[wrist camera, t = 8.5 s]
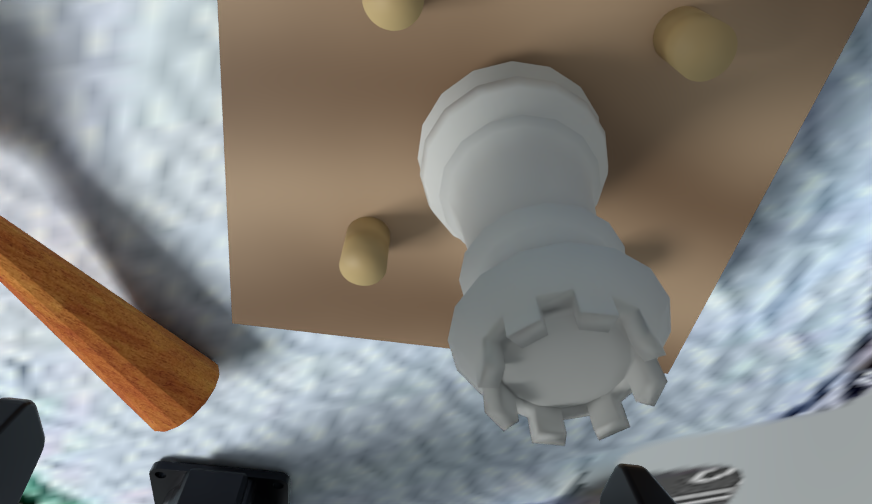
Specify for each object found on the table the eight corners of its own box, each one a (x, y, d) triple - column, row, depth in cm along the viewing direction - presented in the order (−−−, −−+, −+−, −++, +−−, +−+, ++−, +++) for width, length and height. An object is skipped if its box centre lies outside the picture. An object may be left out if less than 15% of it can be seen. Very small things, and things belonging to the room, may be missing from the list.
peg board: (632, 297, 22) (684, 409, 18) (264, 250, 21) (216, 358, 16) (824, -134, 14) (1006, -135, 10) (261, -252, 13) (171, -315, 9)
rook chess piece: (395, 194, 15) (364, 450, 8) (455, 26, 13) (480, 194, 6) (548, 242, 16) (632, 509, 9) (631, 93, 14) (823, 304, 7)
